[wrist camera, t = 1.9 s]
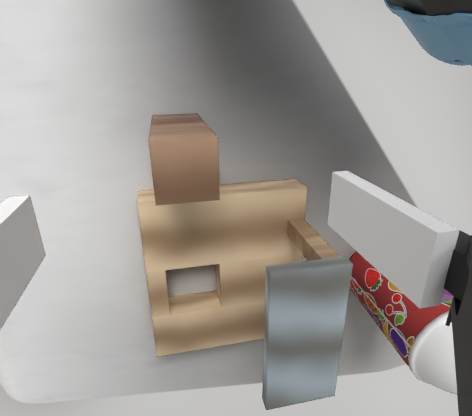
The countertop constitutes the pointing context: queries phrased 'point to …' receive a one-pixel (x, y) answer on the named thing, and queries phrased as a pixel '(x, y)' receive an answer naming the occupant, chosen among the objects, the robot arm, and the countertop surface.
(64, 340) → the countertop surface
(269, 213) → the socket board
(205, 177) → the peg
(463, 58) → the robot arm
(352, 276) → the smoothie
